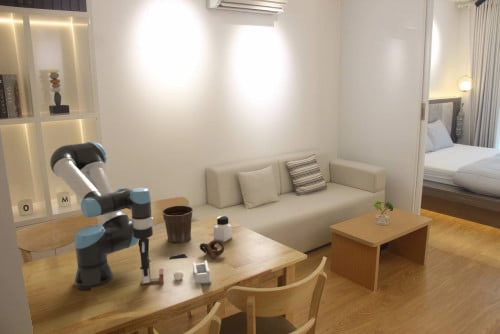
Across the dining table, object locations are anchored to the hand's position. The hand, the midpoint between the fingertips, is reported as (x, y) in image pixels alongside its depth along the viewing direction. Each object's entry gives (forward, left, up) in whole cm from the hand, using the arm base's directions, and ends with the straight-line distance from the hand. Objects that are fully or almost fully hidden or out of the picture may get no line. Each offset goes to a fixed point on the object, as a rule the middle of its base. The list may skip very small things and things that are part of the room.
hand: (146, 280), depth 165 cm
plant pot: (+15, +47, -3) cm, 49 cm away
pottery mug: (+30, +23, -3) cm, 38 cm away
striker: (+2, 0, -1) cm, 2 cm away
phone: (+15, +18, -3) cm, 24 cm away
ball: (+13, 0, 0) cm, 13 cm away
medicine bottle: (+38, +42, -3) cm, 57 cm away
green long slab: (+10, 0, -3) cm, 11 cm away
